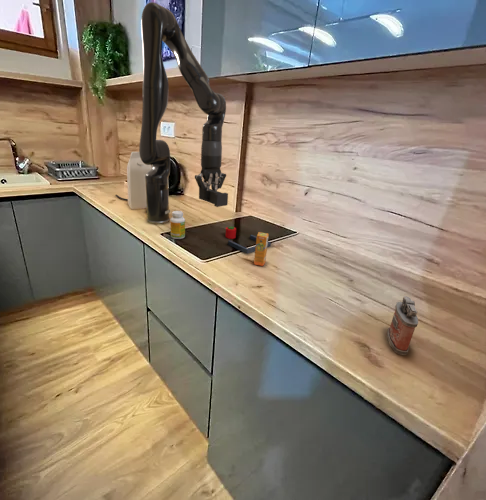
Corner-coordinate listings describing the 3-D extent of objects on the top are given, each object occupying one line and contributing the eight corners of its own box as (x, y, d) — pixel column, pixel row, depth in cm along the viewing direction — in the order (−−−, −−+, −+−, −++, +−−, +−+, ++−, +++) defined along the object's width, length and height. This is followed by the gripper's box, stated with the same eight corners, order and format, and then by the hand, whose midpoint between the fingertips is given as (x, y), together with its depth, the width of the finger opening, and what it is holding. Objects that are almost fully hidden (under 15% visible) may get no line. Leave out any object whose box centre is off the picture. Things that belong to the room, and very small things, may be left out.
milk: (151, 201, 161) (148, 150, 151) (156, 207, 151) (153, 153, 141) (127, 203, 156) (123, 150, 146) (131, 209, 147) (127, 153, 136)
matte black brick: (196, 199, 120) (196, 187, 119) (206, 197, 123) (206, 186, 121) (216, 207, 111) (217, 194, 109) (227, 205, 114) (228, 193, 112)
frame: (227, 244, 110) (228, 240, 110) (251, 238, 117) (251, 234, 117) (246, 253, 103) (247, 249, 103) (270, 246, 110) (271, 242, 110)
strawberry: (223, 236, 118) (223, 226, 116) (231, 234, 120) (231, 225, 119) (230, 239, 115) (230, 229, 114) (237, 237, 117) (238, 227, 116)
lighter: (384, 328, 68) (396, 290, 64) (401, 332, 67) (414, 293, 63) (392, 352, 61) (405, 311, 57) (410, 356, 60) (426, 314, 56)
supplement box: (253, 264, 95) (255, 234, 91) (255, 260, 98) (258, 231, 94) (263, 266, 94) (266, 236, 90) (265, 262, 97) (269, 233, 93)
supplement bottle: (182, 240, 112) (182, 214, 109) (168, 238, 113) (168, 213, 110) (186, 235, 117) (186, 210, 114) (173, 233, 118) (173, 209, 114)
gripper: (220, 152, 117) (218, 196, 124) (189, 153, 109) (189, 200, 116) (232, 154, 112) (230, 200, 119) (201, 155, 104) (200, 204, 111)
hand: (210, 200), depth 117 cm, fingers closed on matte black brick, 2 cm apart
